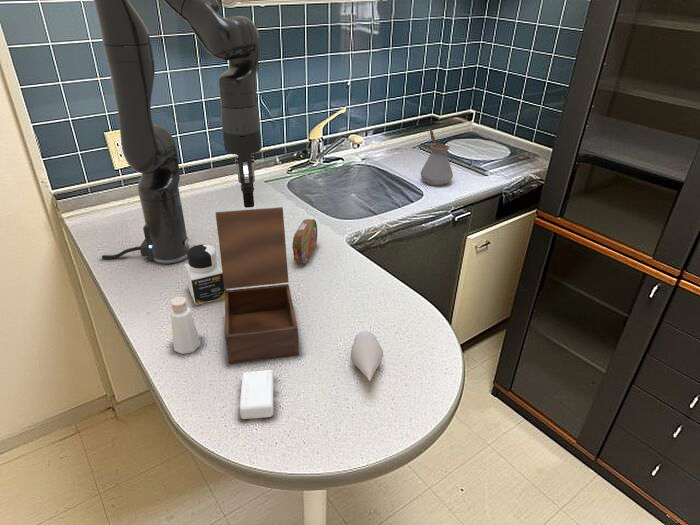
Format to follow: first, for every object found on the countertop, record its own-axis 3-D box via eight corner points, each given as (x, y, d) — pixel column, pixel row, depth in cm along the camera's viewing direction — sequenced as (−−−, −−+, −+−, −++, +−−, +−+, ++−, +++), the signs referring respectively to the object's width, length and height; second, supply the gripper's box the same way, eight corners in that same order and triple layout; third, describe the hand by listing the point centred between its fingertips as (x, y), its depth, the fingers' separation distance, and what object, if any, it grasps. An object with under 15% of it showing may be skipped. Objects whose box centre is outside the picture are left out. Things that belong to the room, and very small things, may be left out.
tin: (303, 269, 124) (302, 240, 119) (291, 268, 124) (289, 238, 120) (318, 241, 136) (318, 214, 132) (307, 240, 137) (306, 213, 133)
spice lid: (282, 207, 101) (282, 207, 102) (215, 212, 98) (215, 212, 99) (288, 282, 105) (288, 281, 106) (224, 289, 103) (224, 288, 103)
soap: (273, 418, 83) (272, 405, 81) (240, 421, 82) (238, 408, 81) (274, 380, 90) (273, 368, 89) (243, 382, 90) (242, 370, 88)
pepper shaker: (196, 354, 96) (188, 309, 90) (169, 354, 96) (158, 308, 90) (204, 337, 101) (196, 292, 95) (177, 336, 101) (168, 291, 95)
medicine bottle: (195, 306, 110) (187, 259, 104) (188, 289, 115) (180, 244, 109) (227, 298, 113) (221, 252, 106) (219, 282, 118) (212, 238, 112)
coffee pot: (455, 187, 172) (461, 145, 164) (423, 188, 171) (427, 145, 164) (441, 166, 190) (445, 127, 183) (411, 166, 190) (415, 127, 182)
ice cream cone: (366, 401, 86) (362, 355, 100) (394, 383, 85) (386, 338, 99) (344, 379, 84) (343, 335, 98) (373, 359, 83) (367, 317, 97)
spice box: (299, 354, 97) (297, 327, 93) (229, 364, 94) (225, 336, 90) (289, 309, 109) (288, 283, 106) (228, 316, 107) (224, 290, 103)
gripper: (222, 119, 104) (231, 195, 113) (222, 137, 93) (232, 220, 102) (258, 118, 106) (264, 193, 114) (262, 135, 94) (268, 217, 103)
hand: (249, 206), depth 108 cm, fingers closed
